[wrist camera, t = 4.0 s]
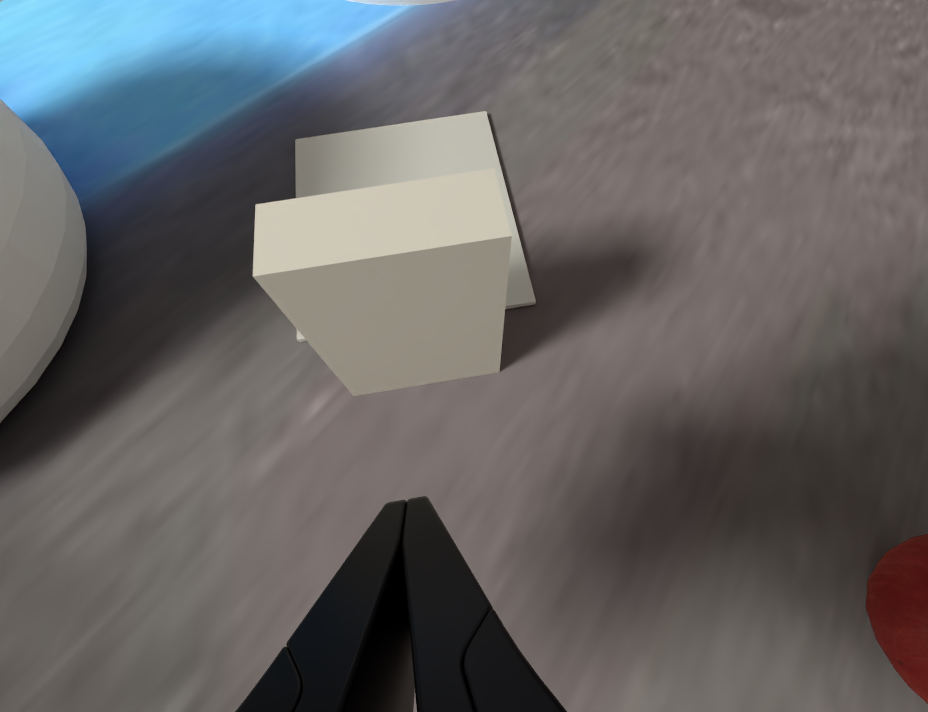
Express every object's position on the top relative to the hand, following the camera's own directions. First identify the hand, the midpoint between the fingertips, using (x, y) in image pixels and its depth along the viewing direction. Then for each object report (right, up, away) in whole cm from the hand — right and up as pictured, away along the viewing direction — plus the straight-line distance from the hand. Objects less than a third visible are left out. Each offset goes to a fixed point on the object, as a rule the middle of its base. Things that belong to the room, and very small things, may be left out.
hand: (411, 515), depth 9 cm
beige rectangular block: (-1, +3, +12) cm, 13 cm away
